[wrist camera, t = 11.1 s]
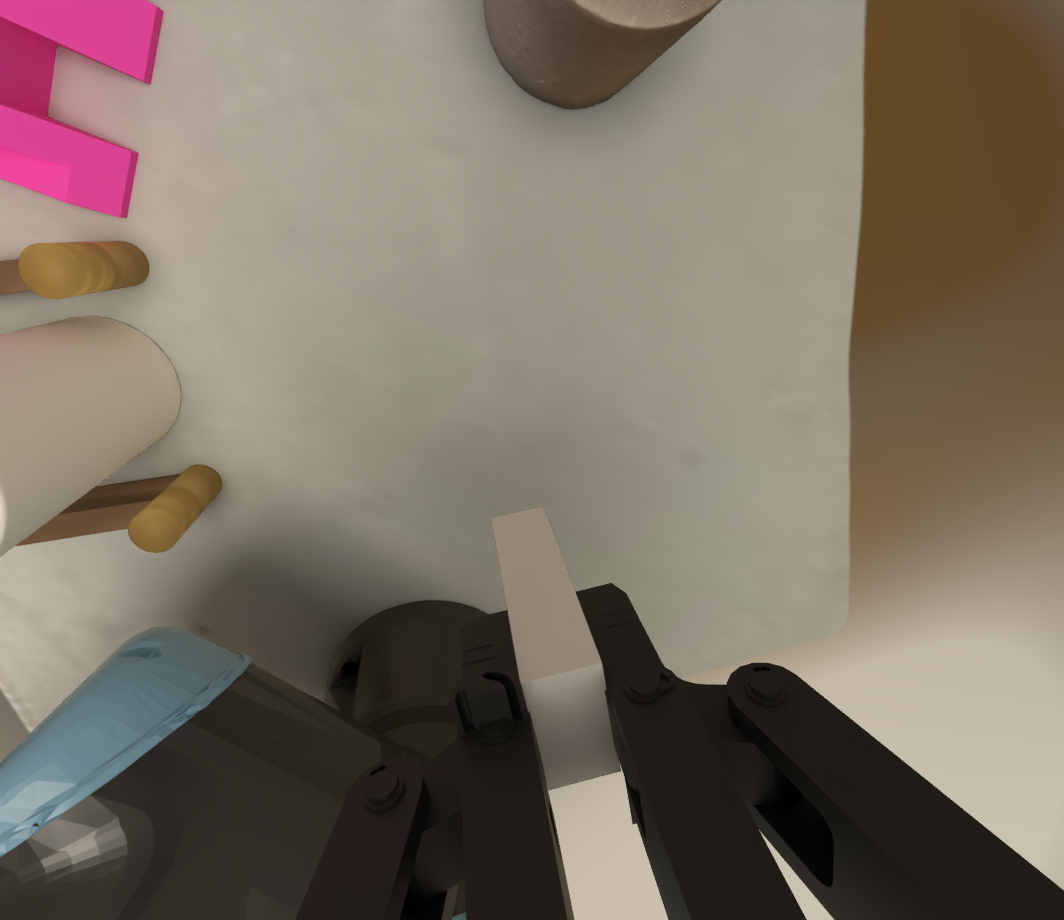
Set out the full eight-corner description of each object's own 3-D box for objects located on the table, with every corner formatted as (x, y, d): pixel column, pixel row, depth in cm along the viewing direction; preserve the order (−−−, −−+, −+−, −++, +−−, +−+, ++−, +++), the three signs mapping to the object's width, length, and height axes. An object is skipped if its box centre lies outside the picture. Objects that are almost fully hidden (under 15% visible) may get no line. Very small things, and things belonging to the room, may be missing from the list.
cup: (3, 400, 35) (-321, 527, 20) (66, 286, 33) (-237, 331, 18) (141, 474, 37) (-54, 633, 23) (206, 372, 36) (41, 472, 21)
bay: (226, 495, 39) (183, 548, 32) (10, 529, 37) (-80, 591, 31) (140, 238, 33) (66, 240, 26) (-120, 268, 32) (-265, 277, 25)
